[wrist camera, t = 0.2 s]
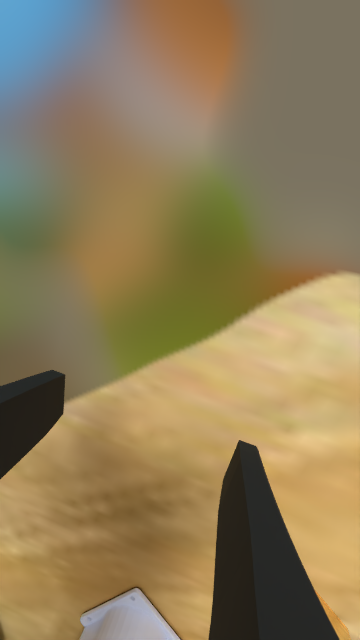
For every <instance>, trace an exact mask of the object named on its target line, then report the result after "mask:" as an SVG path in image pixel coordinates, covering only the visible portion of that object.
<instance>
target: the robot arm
mask: <svg viewBox="0 0 360 640" xmlns="http://www.w3.org/2000/svg"><path fill="white" fill-rule="evenodd" d="M64 388H65V375H64V374H62V373H59V372H57V371H54V370H50V371H46V372H43V373H40V374H37V375H34V376H30V377H27V378H24V379H21V380H18V381H15V382H12V383H9V384H6V385H3V386H0V479H1V478H2V477H3V476H4V475H5V474H6V473H7V472H8V471H9V470H10V469H11V468H13V467H14V466H15V465H16V464H17V463H18V462H19V461H20V460H21V459H22V458H23V457H24V456H25V455H26V454H27V453H28V452H29V451H30V450H31V449H32V448H33V447H34V446H35V445H36V444H37V443H38V442H39V441H40V440H41V439H42V438H43V437H44V436H45V435H46V434H47V433H48V432H49V431H50V429H51V428H52V427H53V426H54V425H55V423H56V422H57V421H58V420H59V418H60V417H61V416H62V415H63V409H64ZM80 622H81V623H82V625H83V626H84V627H85V628H84V630H83V632H82V635H81V637H80V639H79V640H180V638H179V637H178V636H177V635H176V633H175V632H174V631H173V630H172V629H171V627H170V626H169V625H168V624H167V622H166V621H165V620H164V619H163V617H162V616H161V615H160V614H159V613H158V611H157V610H156V609H155V608H154V606H153V605H152V604H151V603H150V601H149V600H148V599H147V598H146V596H145V595H144V594H143V593H142V592H141V590H140V589H138V588H134V589H132V590H130V591H128V592H126V593H124V594H122V595H120V596H118V597H116V598H114V599H112V600H110V601H108V602H106V603H104V604H102V605H100V606H98V607H96V608H94V609H92V610H90V611H88V612H86V613H84V614H82V616H81V618H80ZM209 640H340V639H339V637H338V635H337V633H336V631H335V629H334V628H333V626H332V624H331V622H330V620H329V618H328V616H327V614H326V612H325V610H324V608H323V606H322V604H321V602H320V600H319V598H318V596H317V594H316V592H315V590H314V588H313V586H312V584H311V582H310V580H309V578H308V575H307V573H306V571H305V569H304V567H303V565H302V562H301V560H300V558H299V556H298V553H297V551H296V549H295V547H294V544H293V542H292V540H291V538H290V535H289V533H288V530H287V528H286V526H285V523H284V521H283V518H282V516H281V513H280V511H279V508H278V506H277V503H276V500H275V498H274V495H273V492H272V490H271V487H270V484H269V481H268V479H267V476H266V473H265V470H264V467H263V464H262V461H261V457H260V454H259V451H258V449H257V447H256V446H254V445H251V444H249V443H246V442H243V441H241V440H239V442H238V444H237V447H236V449H235V451H234V454H233V456H232V459H231V461H230V464H229V466H228V469H227V471H226V474H225V476H224V479H223V485H222V491H221V497H220V504H219V510H218V525H217V541H216V558H215V575H214V591H213V605H212V616H211V625H210V633H209Z"/></svg>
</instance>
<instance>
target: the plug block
mask: <svg viewBox="0 0 360 640" xmlns="http://www.w3.org/2000/svg"><path fill="white" fill-rule="evenodd" d="M315 592H316V591H315ZM316 594H317V596H318V598H319V600H320V602H321V604H322V606H323V608H324V610H325V612H326V614H327V616H328V618H329V620H330V622H331V624H332V626H333V628H334V629H335V631H336V633H337V635H338V637H339V639H340V640H351V639H350V635H349V632H348V629H347V627H346V626H345V625H344V624H343V623H342V622H341V620H340V619H339V618H338V617H337V616H336V614H335V613H334V612H333V611H332V610H331V609H330V607H329V606H328V605H327V604H326V603H325V601H324V600H323V599H322V598H321V597H320V596H319V594H318V593H317V592H316Z"/></svg>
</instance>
